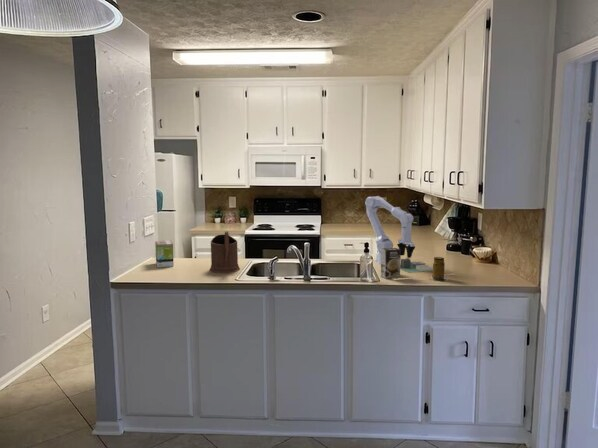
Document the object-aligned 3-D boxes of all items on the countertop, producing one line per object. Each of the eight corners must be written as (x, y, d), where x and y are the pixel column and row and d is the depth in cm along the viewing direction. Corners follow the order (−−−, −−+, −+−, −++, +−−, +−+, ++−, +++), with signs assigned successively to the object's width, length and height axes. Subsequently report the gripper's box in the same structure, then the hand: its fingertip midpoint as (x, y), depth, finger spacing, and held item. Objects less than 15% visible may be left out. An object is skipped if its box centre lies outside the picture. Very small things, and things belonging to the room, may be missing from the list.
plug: (400, 267, 264) (400, 258, 263) (407, 266, 265) (407, 257, 264) (403, 268, 260) (403, 259, 260) (410, 267, 262) (410, 258, 261)
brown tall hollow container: (237, 265, 276) (236, 226, 273) (244, 273, 253) (243, 231, 250) (207, 267, 270) (206, 227, 267) (212, 276, 248) (210, 232, 244)
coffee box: (385, 279, 240) (386, 250, 238) (380, 276, 246) (380, 248, 244) (400, 277, 242) (401, 249, 240) (394, 275, 248) (395, 247, 246)
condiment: (435, 276, 244) (436, 255, 243) (450, 279, 239) (450, 258, 237) (429, 279, 239) (430, 257, 237) (444, 282, 233) (444, 260, 232)
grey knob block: (409, 265, 269) (409, 261, 269) (418, 264, 271) (419, 260, 271) (415, 267, 262) (415, 263, 262) (425, 266, 264) (425, 262, 264)
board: (394, 268, 266) (394, 263, 265) (420, 266, 271) (420, 261, 271) (409, 274, 249) (409, 269, 249) (436, 272, 255) (436, 267, 254)
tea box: (174, 266, 272) (173, 243, 271) (157, 268, 269) (156, 244, 267) (171, 261, 286) (170, 239, 284) (155, 263, 283) (154, 240, 281)
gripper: (394, 232, 266) (393, 254, 267) (406, 236, 252) (406, 259, 254) (404, 232, 268) (403, 253, 269) (417, 235, 254) (417, 258, 256)
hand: (405, 256), depth 262 cm, fingers open, 7 cm apart
